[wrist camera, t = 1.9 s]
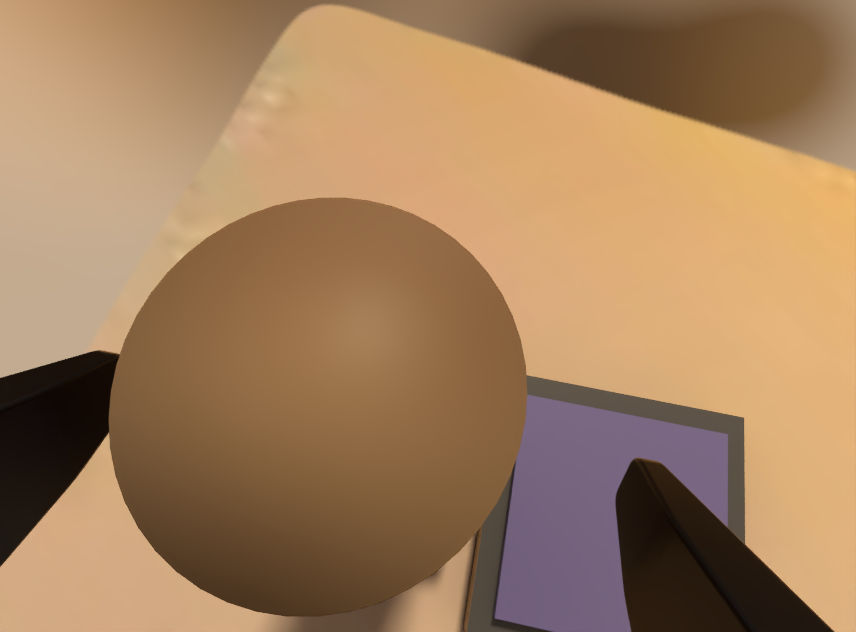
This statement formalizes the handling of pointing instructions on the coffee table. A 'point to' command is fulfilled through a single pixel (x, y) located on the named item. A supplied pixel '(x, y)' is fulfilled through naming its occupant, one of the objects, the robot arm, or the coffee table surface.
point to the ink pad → (589, 504)
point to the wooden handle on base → (317, 407)
